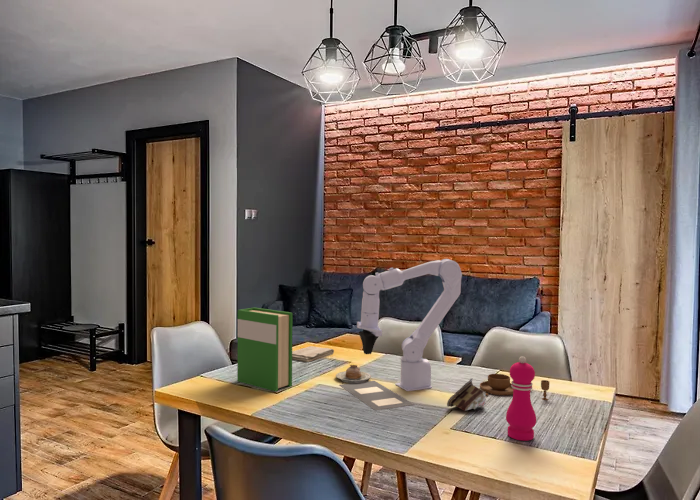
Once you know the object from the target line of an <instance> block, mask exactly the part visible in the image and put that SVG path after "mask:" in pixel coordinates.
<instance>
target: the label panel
mask: <svg viewBox="0 0 700 500" xmlns="http://www.w3.org/2000/svg"><path fill="white" fill-rule="evenodd" d="M339 387H341V388H343V389H344V390H345V391H347V392H348V393H349V394H351V395H352V396H353V397H355V398H357V399H358V400H359V401H361V402H362V403H364V404H365V405H366V406H368V407H369V408H371V409H373V411H380V410H381V411H382V410H388V409H389V410H390V409H396V408H402V407H408V406H415V403H413V402H411V401H409V400H408V399H406V398H405V397H403V396H401V395H400V394H397V393H396V392H394V391H393V390H391V389H389V388H388V387H386V386H384V385H383V384H381V383H379V382H378V381H376V380H370V381H369V380H368V381H366V382H363V383H342V384H339Z"/></svg>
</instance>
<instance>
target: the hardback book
mask: <svg viewBox="0 0 700 500" xmlns="http://www.w3.org/2000/svg"><path fill="white" fill-rule="evenodd" d="M293 323H294V322H293V312H289V311H283V310H276V309H267V308H263V307H262V308H259V307H250V308H241V309H237V363H236V364H237V369H236V371H237V373H236V374H237V376H236V378H237V379H236V381H237V382H240V383H244V384H247V385H251V386H253V387H257V388H262V389H265V390H269V391H272V392H279V389H280V388H284V387H289V388H290V387H292V386H293V360H292V352H293Z"/></svg>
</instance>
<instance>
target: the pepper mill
mask: <svg viewBox="0 0 700 500" xmlns="http://www.w3.org/2000/svg"><path fill="white" fill-rule="evenodd" d="M509 377H510V379H512V381H510V383H512V385H511V387H512V388H513V395H512V400H511V401H510V403H509V406H508V408H507V410H506V413H505V420H506V422H507V424H508V426H507V436H508V437H509V438H511V439H514V440H517V441H521V442H522V441H526V442H527V441H532V440H533V439H534V438H535V430H534V429H533V428H534V427H535V426H536V424H537V415H536V410H534V407H533V404H532V401H531V400H532V399H531V392H532V391H533V385H534V384H533V381H534V379H535V378H536V372H535V369H534V367H533V366H532V365H531V364H529V363H528V362H527V358H526V357H525V356H522V355H521V356H520V357H519V358H518V362H515V363H513V364H512V365H511V366H510V368H509Z"/></svg>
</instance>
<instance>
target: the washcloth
mask: <svg viewBox="0 0 700 500" xmlns="http://www.w3.org/2000/svg"><path fill="white" fill-rule="evenodd" d="M334 353H335V350H334V349H333V348H329V347H319V346H318V347H317V346H312V345H311V346H307V347H302V348H300V349H296V350H294V351H293V350H292V361H293V360H294V361H299V362H305V363H309V362H313V361H317V360H320V359H324V358H326V357H329V356H331V355H333V354H334Z"/></svg>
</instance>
